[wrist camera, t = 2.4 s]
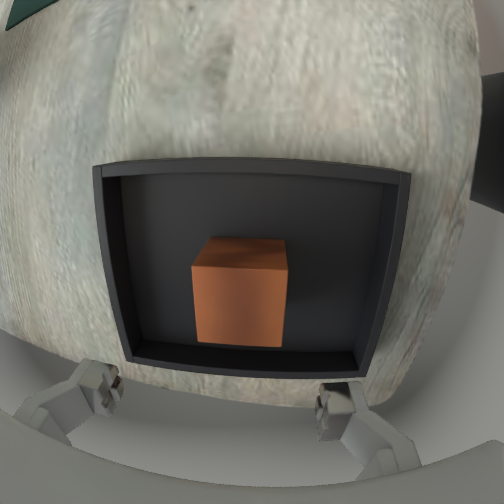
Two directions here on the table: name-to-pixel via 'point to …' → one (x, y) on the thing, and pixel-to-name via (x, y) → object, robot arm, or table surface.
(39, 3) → the mat
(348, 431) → the robot arm
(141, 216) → the baking pan
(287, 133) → the table surface
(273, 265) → the block
